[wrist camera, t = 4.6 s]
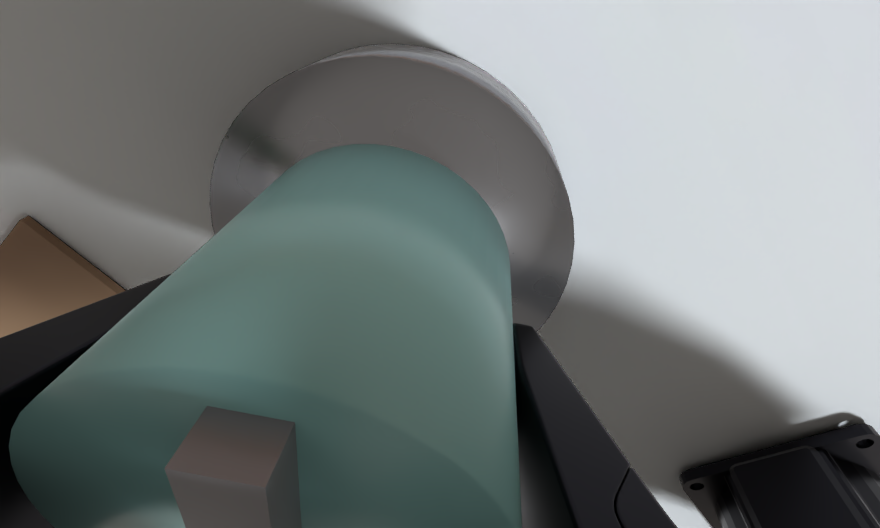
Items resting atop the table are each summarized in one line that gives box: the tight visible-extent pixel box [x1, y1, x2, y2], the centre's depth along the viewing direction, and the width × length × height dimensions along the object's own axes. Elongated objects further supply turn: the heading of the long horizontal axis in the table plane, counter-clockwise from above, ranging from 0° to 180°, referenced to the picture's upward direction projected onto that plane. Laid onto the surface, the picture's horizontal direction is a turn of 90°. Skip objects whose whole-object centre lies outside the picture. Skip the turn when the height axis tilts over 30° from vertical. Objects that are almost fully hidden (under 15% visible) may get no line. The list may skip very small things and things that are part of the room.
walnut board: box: [0, 216, 126, 338], centre depth 19 cm, size 12×12×1 cm
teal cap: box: [9, 144, 522, 528], centre depth 8 cm, size 6×6×7 cm
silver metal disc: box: [210, 44, 574, 332], centre depth 12 cm, size 9×9×2 cm
